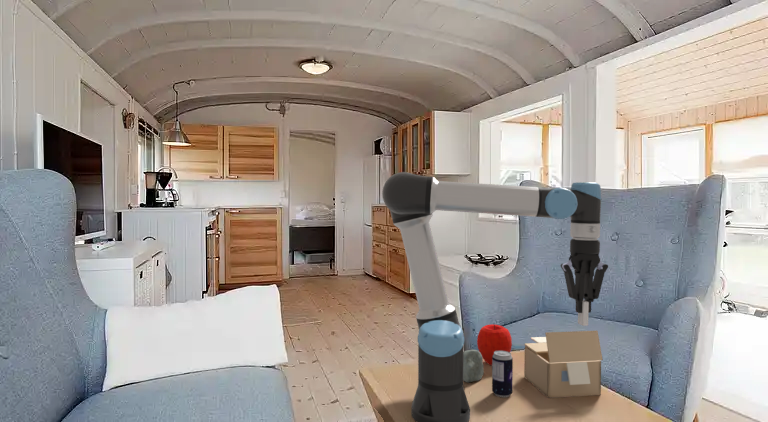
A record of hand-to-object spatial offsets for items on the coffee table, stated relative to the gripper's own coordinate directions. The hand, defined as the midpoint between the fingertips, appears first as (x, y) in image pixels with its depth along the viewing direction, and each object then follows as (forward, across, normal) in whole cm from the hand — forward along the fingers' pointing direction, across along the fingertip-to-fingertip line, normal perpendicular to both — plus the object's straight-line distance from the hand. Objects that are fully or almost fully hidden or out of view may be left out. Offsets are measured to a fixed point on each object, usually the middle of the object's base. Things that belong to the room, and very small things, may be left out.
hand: (582, 324), depth 133 cm
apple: (+22, -12, +33) cm, 42 cm away
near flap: (+11, 0, +4) cm, 11 cm away
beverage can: (+22, -20, +8) cm, 31 cm away
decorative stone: (+23, -26, +23) cm, 41 cm away
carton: (+22, 0, +12) cm, 25 cm away
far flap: (+12, 0, +20) cm, 23 cm away
